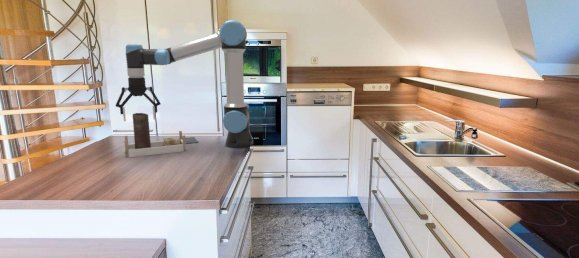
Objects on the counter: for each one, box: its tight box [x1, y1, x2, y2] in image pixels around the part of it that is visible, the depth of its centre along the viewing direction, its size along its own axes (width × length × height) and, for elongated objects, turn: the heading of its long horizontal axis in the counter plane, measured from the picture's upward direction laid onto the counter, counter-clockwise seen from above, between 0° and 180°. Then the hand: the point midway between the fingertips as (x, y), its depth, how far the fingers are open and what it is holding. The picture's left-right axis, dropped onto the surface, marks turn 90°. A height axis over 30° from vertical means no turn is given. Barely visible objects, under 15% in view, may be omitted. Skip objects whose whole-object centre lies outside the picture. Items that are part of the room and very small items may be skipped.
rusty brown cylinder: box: [132, 112, 151, 149], centre depth 166 cm, size 8×7×20 cm
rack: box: [124, 130, 187, 158], centre depth 170 cm, size 28×13×8 cm, turn 116°
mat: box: [176, 136, 199, 145], centre depth 190 cm, size 14×14×1 cm
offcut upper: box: [162, 136, 179, 146], centre depth 173 cm, size 6×7×3 cm
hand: (139, 119), depth 164 cm, fingers open, 13 cm apart
